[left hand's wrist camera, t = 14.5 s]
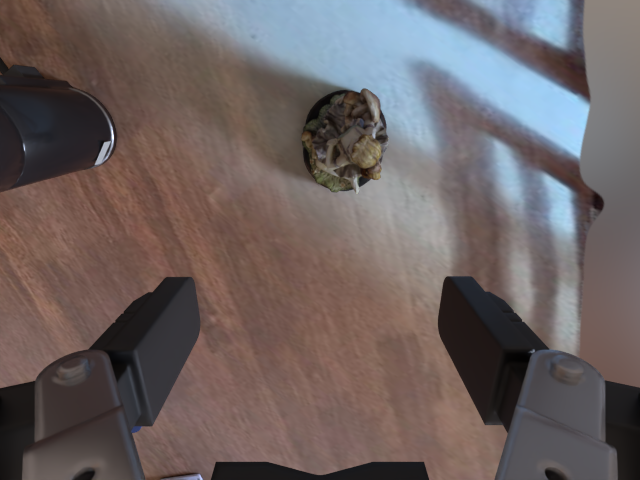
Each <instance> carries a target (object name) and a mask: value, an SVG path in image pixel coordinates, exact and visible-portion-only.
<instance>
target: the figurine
mask: <svg viewBox="0 0 640 480" xmlns="http://www.w3.org/2000/svg"><path fill="white" fill-rule="evenodd" d="M388 139H389V137H388V136H387V133H386V122H385V118H384V115H383V113H382V111H381V109H380V101H379V99H378V97H377V96H376V95H375V94H373V93H372V92H371V91H369V90H368V89H365V88H364V89H362V90H361V92H360V93H358V92H354V91H348V90H340V91H336V92H333V93H331V94H328V95H327V96H325V97H323V98H322V99H321V100H319V101H318V102H317V103H316V104H315V105H314V106H313V108H312V109H311V110H310V112H309V114H308V117H307V120H306V125H305V127H304V129H303V133H302V137H301V140H302V143H303V146H304V148H303V154H304V162H305V165H306V167H307V169H308V171H309V173H310V174H311V175H312V176H313V177H314V179H315V180H316V182H317V183H318V184H321V185H323V186H324V187H327V188H328V189H330V190H331V192H338V191H349V190H352V189H354V191H355V192H356V194H358V193H359V187H361V186H362V185H364V184H365V183H367V182H368V181H369V180H370V179H374V180H378V179H379V178H381V177H380V172H381V165H380V164H381V161H382V156H383V153H384V152H385V150H386V149H387V147H388Z"/></svg>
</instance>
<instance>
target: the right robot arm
mask: <svg viewBox="0 0 640 480" xmlns="http://www.w3.org/2000/svg"><path fill="white" fill-rule="evenodd" d="M160 480H203V479H202V477H201V475H200V474H192V475H185V476H178V477H171V478H164V479H160Z"/></svg>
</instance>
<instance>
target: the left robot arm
mask: <svg viewBox="0 0 640 480" xmlns="http://www.w3.org/2000/svg"><path fill="white" fill-rule="evenodd" d="M0 72H1V73H2V74H3V75H0V192H3V191H7V190H11V189H14V188H18V187H22V186H25V185H29V184H32V183H36V182H40V181H43V180H47V179H51V178H54V177H58V176H62V175H65V174H69V173H72V172H76V171H80V170H85V169H90V168H94V167H97V166H100V165H102V164H104V163H105V162H106V161H107V160H108V159H109V158H110V157H111V156H112V154H113V152H114V150H115V147H116V141H117V135H116V128H115V125H114V122H113V119H112V117H111V115H110V114H109V112H108V111H107V109H106V108H105V107H104V105H103V104H102V103H101V102H100V101H99V100H97V99H96V98H95V97H94V96H92V95H91V94H89V93H87V92H85V91H82V90H80V89H76V88H73V87H72V86H70V84H69V83H68V82H67V81H62V80H51V79H44V77H43V76H42V75H41V74H40V73H39V72H38V71H37V70H36V68H35V67H28V66H20V65H13V66H12V67H11V68H10V69H8V67H7V66H6V65H5V63H4V62H3V61H2V59H1V58H0ZM115 321H116V322H115V323H113V324H112V325H111V326H110V327H109V328H108V329H107V330H106V331H105V332H104V333H103V334H102V335H101V336H100V338H99V339H98V340H97V341H96V342H95V343H94V344H93V345H92V346H91V347H90V348H89V349H88V350H83V351H78V352H75V353H71V354H69V355H66V356H64V357H62V358H60V359H58V360H56V361H54V362H53V363H51V364H50V365H48V366H47V367H46V368H45V369H43V370H42V372H41V373H40V374H39V375H38V376H37V378H36V380H35V381H33V382H28V383H23V384H18V385H14V386H9V387H4V388H0V480H145V476H144V473H143V469H142V466H141V463H140V459H139V456H138V452H137V449H136V445H135V442H134V439H133V435H132V432H131V431H132V429H133V427H134V426H153V424H154V422H155V420H156V418H157V416H158V414H159V412H160V410H161V408H162V406H163V404H164V402H165V400H166V399H167V397H168V395H169V393H170V391H171V389H172V387H173V385H174V383H175V381H176V379H177V377H178V375H179V373H180V371H181V370H182V368H183V366H184V364H185V362H186V360H187V358H188V356H189V354H190V352H191V350H192V348H193V346H194V344H195V343H196V341H197V338H198V336H199V331H200V315H199V308H198V302H197V295H196V288H195V283H194V280H193V278H192V277H166V278H165V279H164V280H163V281H162V282H161V283H160V284H159V286H158V287H157V288H156V289H155V290H154V291H153V292H148V293H147V294H145V295H143V296H142V297H140V298H138V299H136V300H135V301H133V302H132V303H131V304H130V305H129V307H128V308H127V309H126V310H125V311H124V314H121V315H120V316H119V317H118V318H117V319H116V320H115ZM438 330H439V334H440V337H441V340H442V342H443V344H444V345H445V347H446V349H447V351H448V353H449V355H450V357H451V359H452V361H453V363H454V365H455V367H456V369H457V371H458V373H459V375H460V377H461V379H462V381H463V383H464V385H465V387H466V388H467V390H468V392H469V394H470V396H471V398H472V400H473V402H474V404H475V406H476V408H477V410H478V412H479V414H480V416H481V418H482V420H483V422H484V424H485V425H503V426H504V427H505V429H506V431H507V433H508V435H507V439H506V442H505V445H504V449H503V452H502V456H501V459H500V463H499V466H498V469H497V473H496V476H495V480H640V388H638V387H633V386H629V385H624V384H619V383H615V382H610V381H605V380H604V378H603V376H602V375H601V374H600V373H599V372H598V371H597V369H595V368H594V367H593V366H592V365H590V364H589V363H587V362H586V361H584V360H582V359H580V358H578V357H576V356H574V355H571V354H569V353H565V352H562V351H557V350H550V349H549V348H548V347H547V346H546V345H545V344H544V343H543V342H542V341H541V340H540V339H539V338H538V336H537V335H536V334H535V333H534V332H533V331H532V330H531V329H530V328H529V327H528V326H527V325H526V324H525V322H522V319H521V318H520V317H519V316H518V315H517V314H516V313H514V311H513V309H512V308H511V307H510V306H509V305H508V304H507V303H506V302H505V301H504V300H502V299H501V298H499V297H497V296H496V295H494V294H492V293H491V292H485V291H484V290H483V289H482V288H481V286H480V285H479V284H478V283H477V282H476V281H475V279H474V278H473V277H470V276H447V277H446V278H445V280H444V283H443V289H442V295H441V302H440V309H439V316H438ZM211 480H429V478H428V474H427V471H426V467H425V464H424V462H371V463H367V464H363V465H360V466H356V467H352V468H348V469H345V470H341V471H337V472H333V473H330V474H326V475H314V474H310V473H307V472H303V471H299V470H295V469H292V468H288V467H284V466H280V465H277V464H273V463H269V462H216V464H215V467H214V471H213V474H212V478H211Z"/></svg>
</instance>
